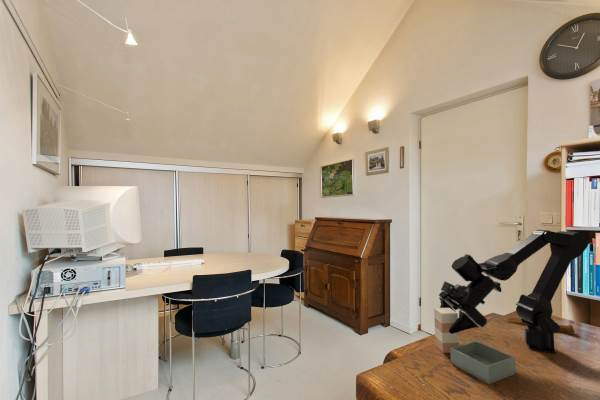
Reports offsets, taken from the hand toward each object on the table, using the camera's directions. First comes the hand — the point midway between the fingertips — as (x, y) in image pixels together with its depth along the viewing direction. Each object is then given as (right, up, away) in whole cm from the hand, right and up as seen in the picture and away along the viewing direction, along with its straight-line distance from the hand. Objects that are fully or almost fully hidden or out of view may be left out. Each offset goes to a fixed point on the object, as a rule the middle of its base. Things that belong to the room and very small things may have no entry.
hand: (442, 326), depth 91 cm
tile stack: (+1, -7, 0) cm, 7 cm away
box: (+5, -6, -12) cm, 14 cm away
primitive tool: (+43, -7, +15) cm, 46 cm away
